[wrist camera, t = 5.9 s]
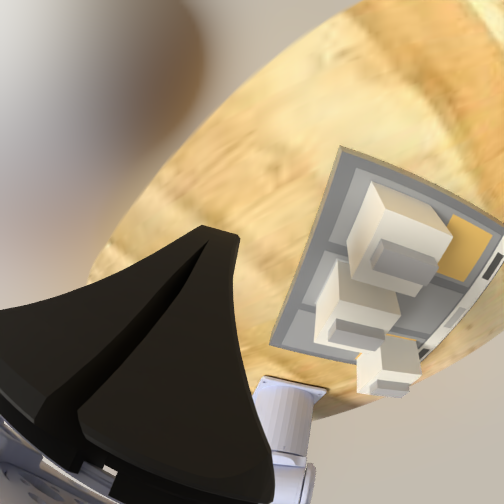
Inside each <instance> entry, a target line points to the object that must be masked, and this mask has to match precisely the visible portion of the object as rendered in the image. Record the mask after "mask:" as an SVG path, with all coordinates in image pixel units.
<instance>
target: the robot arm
mask: <svg viewBox="0 0 504 504" xmlns="http://www.w3.org/2000/svg"><path fill="white" fill-rule="evenodd" d="M239 243H240V238H239V236H238V235H237V234H233V233H229V232H226V231H222V230H219V229H215V228H211V227H208V226H204V225H201V226H199V227H197V228H195V229H194V230H192V231H190V232H189V233H187V234H185V235H184V236H182V237H180V238H179V239H177V240H175V241H174V242H172V243H170V244H169V245H167V246H165V247H164V248H162V249H160V250H159V251H157V252H155V253H154V254H152V255H150V256H148V257H146V258H144V259H142V260H141V261H139V262H137V263H135V264H133V265H131V266H130V267H128V268H126V269H124V270H122V271H119V272H117V273H115V274H113V275H111V276H109V277H106V278H104V279H102V280H100V281H97V282H95V283H92V284H90V285H87V286H84V287H81V288H79V289H76V290H73V291H71V292H68V293H65V294H62V295H60V296H57V297H53V298H50V299H46V300H43V301H39V302H36V303H32V304H28V305H24V306H19V307H14V308H9V309H3V310H0V504H116V503H114V502H112V501H110V500H108V499H106V498H104V497H102V496H100V495H98V494H96V493H94V492H92V491H90V490H89V489H87V488H85V487H83V486H81V485H79V484H78V483H76V482H74V481H73V480H71V479H69V478H68V477H66V476H64V475H63V474H61V473H60V472H58V471H57V470H55V469H53V468H52V467H51V466H49V465H48V464H46V463H45V462H43V461H42V459H43V456H45V457H46V458H47V459H48V460H50V461H51V462H53V463H54V464H55V465H56V466H58V467H59V468H61V469H62V470H63V471H65V472H66V473H68V474H69V475H71V476H72V477H74V478H75V479H77V480H79V481H80V482H82V483H83V484H85V485H87V486H88V487H90V488H92V489H93V490H95V491H97V492H99V493H100V494H102V495H104V496H106V497H108V498H110V499H112V500H114V501H116V502H118V503H120V504H298V503H299V504H310V501H311V497H312V492H313V487H314V481H315V475H316V468H315V466H313V464H312V463H308V464H307V468H306V471H305V467H306V461H307V457H306V456H307V449H308V443H309V436H310V429H311V421H312V414H313V405H314V404H315V403H316V402H317V401H318V400H319V399H320V398H321V397H323V396H324V395H325V394H326V389H324V388H318V387H313V386H308V385H303V384H299V383H294V382H289V381H285V380H281V379H277V378H272V377H268V376H263V377H262V378H261V380H260V382H259V384H258V386H257V387H256V389H255V391H254V393H253V395H251V392H250V388H249V385H248V381H247V377H246V373H245V369H244V365H243V361H242V357H241V352H240V347H239V341H238V336H237V329H236V322H235V314H234V302H233V274H234V269H235V264H236V259H237V253H238V248H239ZM4 421H5V422H6V423H7V424H8V425H9V426H10V427H11V428H12V429H13V430H12V429H11V428H9V427H8V426H7V425H5V424H4ZM42 455H43V456H42ZM104 464H105V465H106V466H108V467H110V468H112V469H114V470H116V471H117V472H118V473H117V475H116V476H114V475H112V474H110V473H108V472H106V471H104V470H103V467H104ZM304 473H305V476H304ZM303 478H304V479H303ZM299 498H300V501H299Z"/></svg>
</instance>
